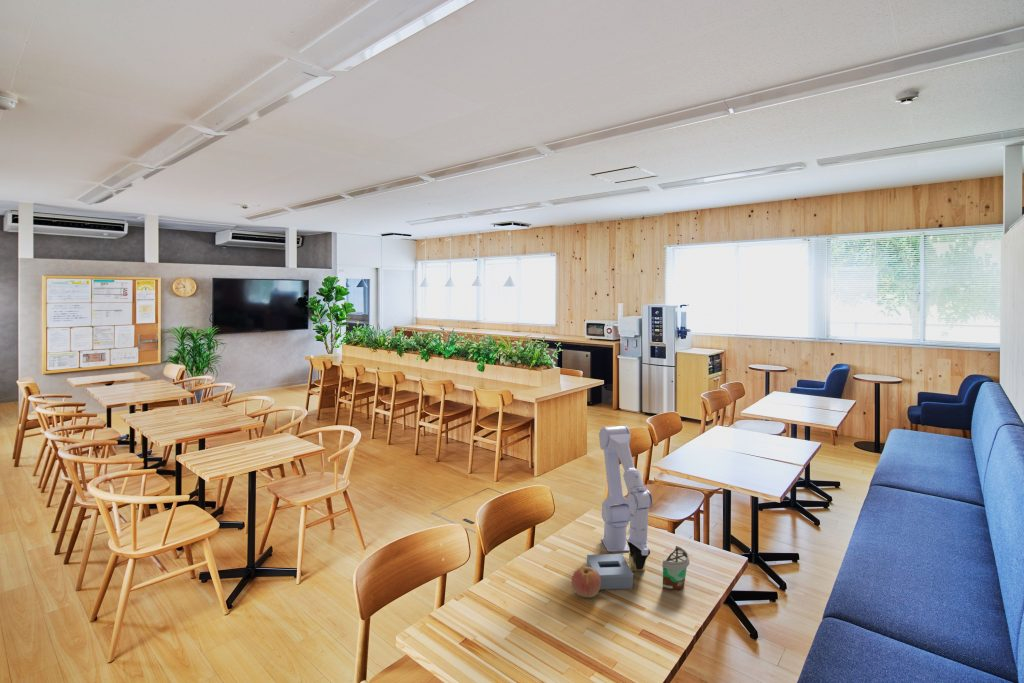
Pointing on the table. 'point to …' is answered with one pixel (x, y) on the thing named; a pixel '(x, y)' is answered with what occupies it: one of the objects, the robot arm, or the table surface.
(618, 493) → the robot arm
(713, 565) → the table surface
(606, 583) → the coin box
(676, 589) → the food container
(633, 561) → the block
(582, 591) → the apple
